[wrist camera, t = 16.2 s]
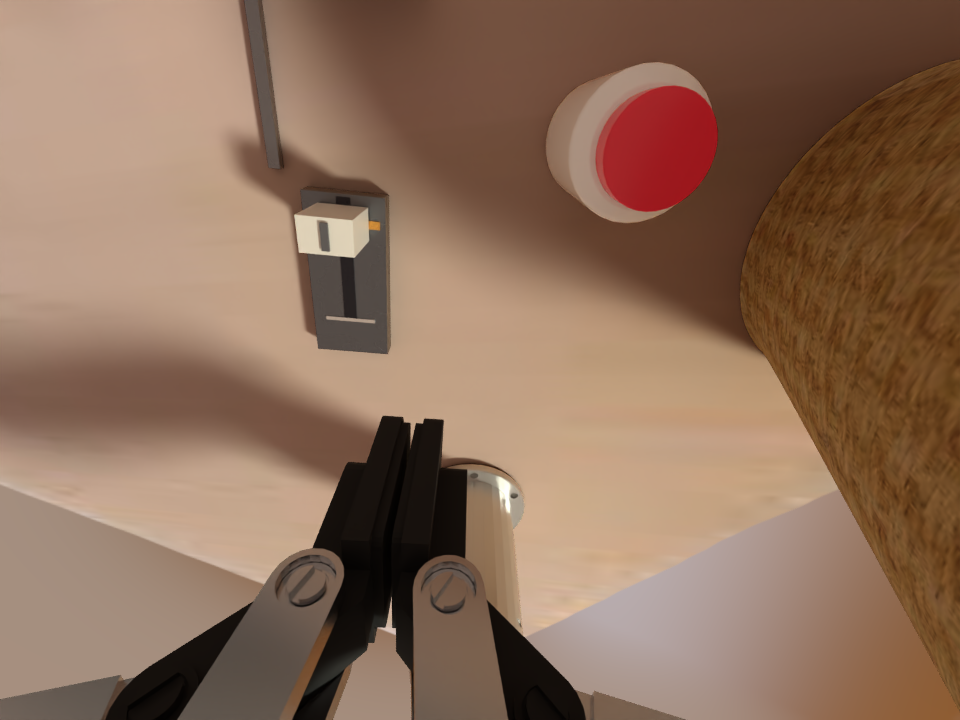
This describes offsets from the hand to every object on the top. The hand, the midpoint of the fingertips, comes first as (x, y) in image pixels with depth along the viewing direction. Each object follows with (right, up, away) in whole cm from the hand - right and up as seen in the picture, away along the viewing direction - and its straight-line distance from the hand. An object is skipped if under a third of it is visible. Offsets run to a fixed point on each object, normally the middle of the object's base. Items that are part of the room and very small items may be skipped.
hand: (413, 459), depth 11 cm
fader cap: (-8, +13, +19) cm, 24 cm away
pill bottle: (+10, +18, +18) cm, 28 cm away
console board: (-9, +10, +22) cm, 26 cm away
